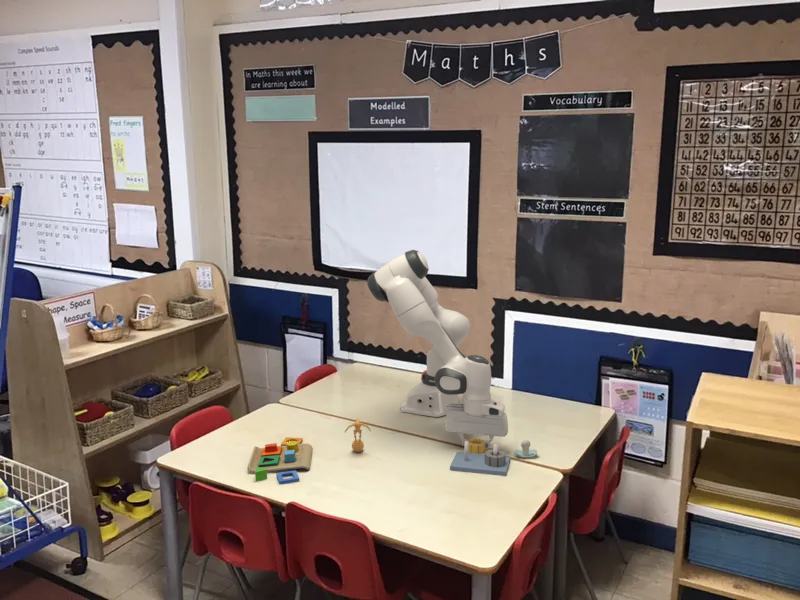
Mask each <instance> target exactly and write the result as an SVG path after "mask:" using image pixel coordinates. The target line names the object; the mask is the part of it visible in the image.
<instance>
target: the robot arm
mask: <svg viewBox="0 0 800 600" xmlns="http://www.w3.org/2000/svg"><path fill="white" fill-rule="evenodd" d="M428 273H429V266H428V261H427V258H426V257H425V256H424V255H423V254H422V253H420V252H419V250H415V249H411V250H408V251H405V252H404V254H401V255H399V256H397V257H395V258H393V259H391V260H390V261H388V263H386V264H385V265H383V266H382V267H380V268H378V269H377V271H374V272H372V273H371V274H370V275H369V276H368V278H367V281H366V284H367V287H368V290H369V292H370V294H371V295H372V296H373V298H375V300H377V301H380V302H386V303H389V305H390V308H391V309H392V311H393V313H394V316H395V317H396V319H397V320H398V323H399V325H400V326H401V327H402V328H403V329H404V331H405V332H406V333H407V334H408V335H411V336H414V337H418V338H419V337H420V338H423V339H425V340H427V341H429V342H430V343H431V345H432V346H433V347H432V348H430V349H429V350H428V351H427V353H426V369H425V370H423V372H422V374H421V375H420V380H421V382H419V383H418V384H417V385H415V386H414V387H412V388H411V389H410V390H409V391H408V393H407V397H406V400H405V401H403V402H402V403H401V405H400V408H401V409H400V411H401V412H402V411H403V413H407V414H416V415H421V416H427V417H434V418H439V417H443V416H446V418H445V430H446V431H447V432H449V433H457V434H458V437H459V438H460V440H461V445H462V447H463V446H465V441H467V440H468V438H465V436H464V434H468V435H469V434H470V435H480V436H488V439H489V440H485V441H486V443H485V445H486V446H485V448H486V449H491V443H492V441H493V440H494V438H495V437H501V438H502V437H504V438H505V437H506V436H507V435H508V433H509V421H508V416H507V414H506V412H505V408H506V406H505V404H504V403H502V402H501V401H497V400H494V399H492V395H491V386H492V368H491V364H490V361H489V360H488V359H487V358H486V357H484V356H481V355H477V354H471V355H467V356H466V355H465V354H463V353H462V352H461V351H460V350H459V348H460V344H461V342H462V341H463V340H465V339H466V338H467V337H468V335H469V333H470V331H471V330H470V329H471V322H470V320H469V318H468V317H466V316H465V315H464V314H462V313H461V312H459V311H456V310H452V309H447V308H444V307H443V306H441V304H439V302H438V300H439V299H438V298H439V295H438V294H439V293H438V292H437V290H436V289H435V288H434V286H433V285H432V283H430V281H429V279H427V277H426V276H427V275H428ZM461 394H462V395H463V397H462V398H463V400H462V401H463V403H459V400H458V395H461Z"/></svg>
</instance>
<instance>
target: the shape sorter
mask: <svg viewBox="0 0 800 600" xmlns="http://www.w3.org/2000/svg"><path fill="white" fill-rule="evenodd" d="M289 441H290V442H289ZM302 441H304V439H303V437H293V436H292V437H290V436H289V437H287V436H286V437H285V438H284V439H283V441H282V442H281V443H280V445H277V444H278V443H266V444H265V445H264V447H258V446H254V447H253V450H252V453H251V455H250V458H249V461H248V465H247V470H248V472H249V473H251V474H255V475H254V476H255V477H254V478H255V482H259V481H265V480H267V479H268V472H269V473H270V472H277V473H276V479H277V483H278V484H279V485H287V484H291V483H298V482H300V476H299V474H298V471H297V470H295V469H305V470H307V471H309V470H310V469H311V464H312V456H313V446H312V444H310V443H303V442H302ZM287 442H288V443H287ZM287 470H288V471H287ZM279 471H282V472H279ZM284 477H285V478H284ZM286 477H288V478H286Z"/></svg>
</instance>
